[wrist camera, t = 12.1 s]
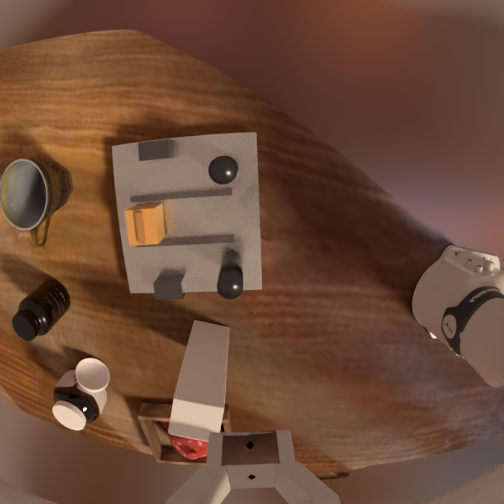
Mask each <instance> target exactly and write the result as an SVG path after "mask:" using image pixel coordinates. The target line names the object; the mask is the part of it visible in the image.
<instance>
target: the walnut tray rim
mask: <svg viewBox="0 0 504 504" xmlns="http://www.w3.org/2000/svg"><path fill="white" fill-rule="evenodd" d="M171 411H172V405H169V404H152V403H142V404H141V407H140V409H139V412H138V415H137V417H138V419H139V422H140V424H141V427H142V429H143V432H144V434H145V436H146V439H147V441H148V443H149V445H150V448H151V450H152V452H153V454H154V456H155V459H156V461H157V462H160V463H171V464H184V465H206V462H207V456H205V457H201V458H197V459H189V458H186V457H184V456H183V455H181V454H180V453H179V452H178V451H177V450H176V449H170V448H163V447H162V444H161V442H160V439H159V437H158V434H157V431H156V429H155V426H154V423H153V421H167V422H170V417H171ZM152 420H153V421H152ZM222 423H223V425H224V431H225V433H232V427H231V420H230V412H229V405H224V413H223V418H222Z"/></svg>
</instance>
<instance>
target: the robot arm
mask: <svg viewBox="0 0 504 504" xmlns="http://www.w3.org/2000/svg"><path fill="white" fill-rule="evenodd" d="M455 252H456V254H455ZM412 310H413V314H414V317H415V319H416V320H417V321H418V323H420V324H421V325H422V326H424V327H425V328H426V329H427V331H428V334H429V335H430V336H431V337H432V338H438V339H439V340H440V341H441V342H443V343H444V344H445V345H446V346H448V347H449V348H450V349H451V350H453V351H454V353H455V354H456V355H458V356H459V357H460V358H461V359H463V360H465V361H467V362H468V363H469V364H470V365H471V366H472V367H473V368H474V369H475V370H476V372H477V373H478V374H479V375H480V376H481V377H482V378H483V380H484V381H485V382H486V383H487V384H489V385H490V386H494V387H500V386H504V274H503V273H502V272H500V264H499V259H498V257H497V256H496V255H493V254H489V253H485V252H481V251H477V250H472V249H468V248H464V247H459V246H455V245H449V246H448V247H447V248H446V249H445V250H444V252H443V254H442V255H441V257H440V258H439V259H438V260H437V261H436V262H435V263H434V264H432V265H431V266H430V267H429V268H428V269H427V270H426V271H425V273H424V274H423V275H422V277H421V278H420V280H419V282H418V284H417V286H416V288H415V291H414V294H413V299H412ZM262 487H275V488H276V489H277V491H278V492H279V493H280V494H281V495H282V496H283V498H284V499H285V500H286V501H287V502H288V503H289V504H340V500H339V496H338V495H337V494H336V493H334V492H333V491H332V490H331V489H330V488H328V487H327V486H326V485H325V484H324V483H323V482H321V481H320V480H319V479H318V478H317V477H316V476H314V475H313V474H312V473H311V472H310V471H309V470H308V469H306V468H305V467H304V466H303V465H302V464H301V463H300V462H295V458H294V452H293V445H292V439H291V433H290V430H289V429H288V430H276V431H275V430H273V431H259V432H250V433H215V432H210V434H209V441H208V451H207V462H206V465H202V466H201V467H200V468H199V470H198V471H196V473H195V474H194V475H193V476H192V477H191V478H190V479H189V480H188V481H187V482H186V483H185V484H184V485H183V486H182V487H181V488H179V489H178V491H176V492H175V494H173V495H172V496H171V497H170V498H169V499H168V500H167V501H166V504H220V503H221V502H222V501H223V499H224V498H225V497H226V495H227V494H228V493H229V491H230V489H233V488H234V489H235V488H262ZM0 504H57V503H53V502H51V501H48V500H46V499H43V498H41V497H38V496H36V495H33V494H31V493H29V492H26V491H24V490H21V489H19V488H17V487H15V486H13V485H11V484H9V483H7V482H5V481H3V480H1V479H0ZM415 504H504V463H502V464H500V465H498V466H496V467H495V468H493V469H491V470H489V471H487V472H486V473H484V474H482V475H480V476H478V477H476V478H474V479H472V480H470V481H468V482H466V483H464V484H461V485H459V486H457V487H455V488H453V489H450V490H448V491H446V492H443V493H441V494H439V495H436V496H433V497H431V498H428V499H426V500H423V501H420V502H417V503H415Z"/></svg>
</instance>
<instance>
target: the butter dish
mask: <svg viewBox="0 0 504 504" xmlns="http://www.w3.org/2000/svg"><path fill="white" fill-rule="evenodd" d="M169 423H170V422H167V421H162V424H163V425H164V427H165V428H166V430H167V431H168V428H169ZM220 433H224V432H223V430H222V429H221V428H220ZM169 438H170V441H171V443H172V445H173V446H174V447H175V449H176V450H177V451H178V452H179V453H180V454H181V455H183V456H184V457H186V458H189V459H197V458H201V457H205V456H207V451H208V441H202V440H196V439H191V438H186V437H181V436H176V435H172V434H169Z"/></svg>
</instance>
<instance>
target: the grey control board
mask: <svg viewBox="0 0 504 504" xmlns="http://www.w3.org/2000/svg"><path fill="white" fill-rule="evenodd" d="M112 155H113V169H114V181H115V192H116V201H117V210H118V219H119V226H120V234H121V241H122V247H123V254H124V260H125V266H126V272H127V277H128V283H129V288H130V293H155V298H156V300H168V299H183V298H184V296H185V293H186V292H207V291H218V293H219V294H220V295H221V296H222V297H224V298H226V299H234V298H237V297H238V296H240V294H241V293H242V291H243V290H256V289H262V273H261V242H260V213H259V185H258V159H257V134H256V132H247V133H227V134H211V135H198V136H187V137H177V138H168V139H159V140H151V141H143V142H136V143H129V144H122V145H116V146H112ZM159 203H162V205H163V215H164V225H165V234H166V236H165V237H164V238H163V240H162V241H161V242H160V243H159V244H152V245H134V246H130V245H129V238H128V231H127V223H126V215H125V210H127V209H129V208H131V207H133V206H135V205H147V204H159Z"/></svg>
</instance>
